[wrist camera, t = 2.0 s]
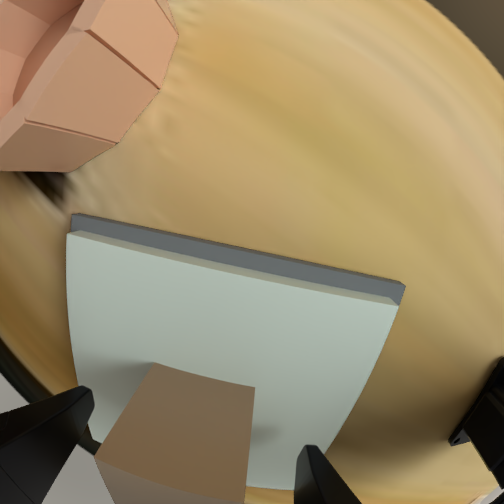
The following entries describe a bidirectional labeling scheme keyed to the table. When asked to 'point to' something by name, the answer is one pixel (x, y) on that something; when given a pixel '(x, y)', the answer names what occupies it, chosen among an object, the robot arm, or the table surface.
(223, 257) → the mat
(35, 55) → the bowl
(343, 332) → the cover
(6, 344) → the table surface
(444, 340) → the table surface
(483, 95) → the table surface
